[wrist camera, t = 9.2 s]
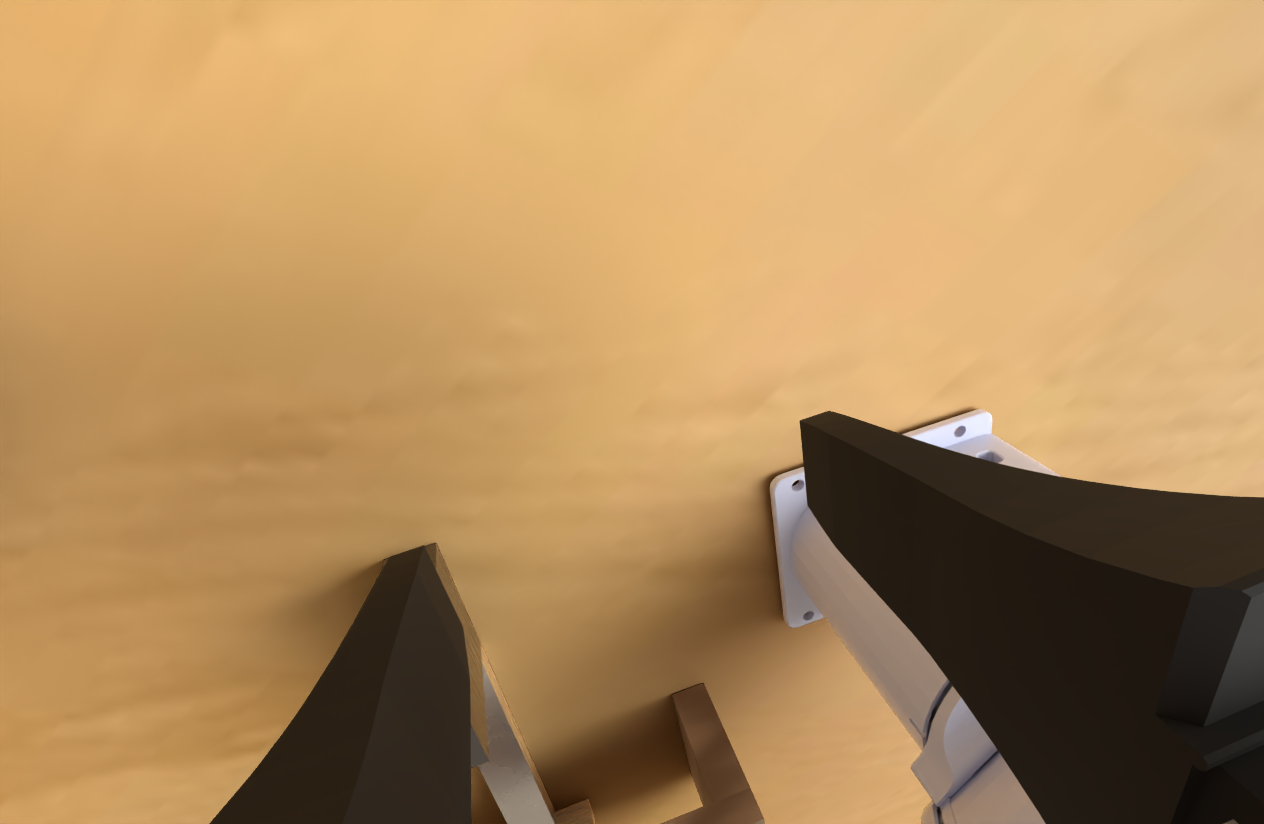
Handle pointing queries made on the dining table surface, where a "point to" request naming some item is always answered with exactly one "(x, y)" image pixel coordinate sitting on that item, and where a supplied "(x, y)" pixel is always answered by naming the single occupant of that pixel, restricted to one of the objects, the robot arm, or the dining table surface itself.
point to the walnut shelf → (712, 765)
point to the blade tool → (502, 734)
